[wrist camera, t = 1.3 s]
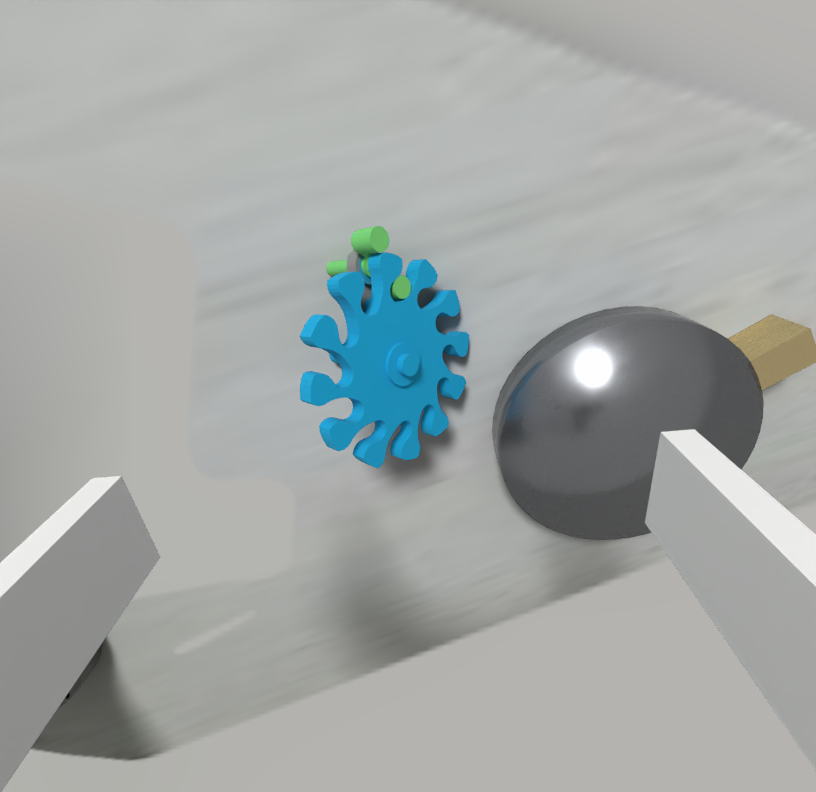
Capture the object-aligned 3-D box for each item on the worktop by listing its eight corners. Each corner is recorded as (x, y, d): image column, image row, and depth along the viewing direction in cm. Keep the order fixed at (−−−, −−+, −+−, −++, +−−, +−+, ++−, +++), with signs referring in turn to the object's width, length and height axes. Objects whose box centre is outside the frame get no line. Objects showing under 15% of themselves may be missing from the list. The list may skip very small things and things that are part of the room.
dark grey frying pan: (558, 543, 30) (570, 571, 28) (447, 397, 26) (451, 418, 23) (810, 420, 26) (848, 442, 24) (735, 216, 21) (774, 220, 19)
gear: (482, 430, 25) (336, 508, 18) (409, 411, 29) (271, 469, 22) (472, 221, 21) (289, 227, 15) (392, 234, 25) (222, 243, 19)
